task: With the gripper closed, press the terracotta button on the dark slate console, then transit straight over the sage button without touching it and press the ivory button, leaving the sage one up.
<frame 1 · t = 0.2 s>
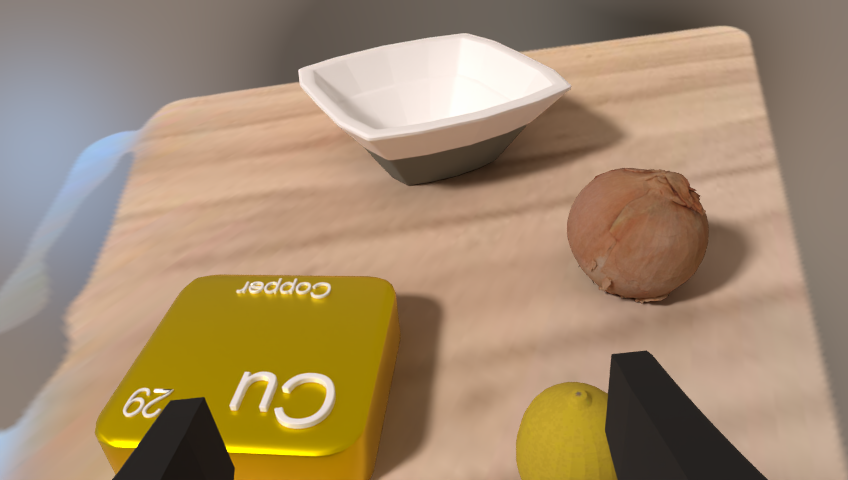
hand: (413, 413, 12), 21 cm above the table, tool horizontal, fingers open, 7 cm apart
onion: (628, 283, 49), on the table
element tile: (273, 399, 42), on the table
bowl: (431, 156, 69), on the table
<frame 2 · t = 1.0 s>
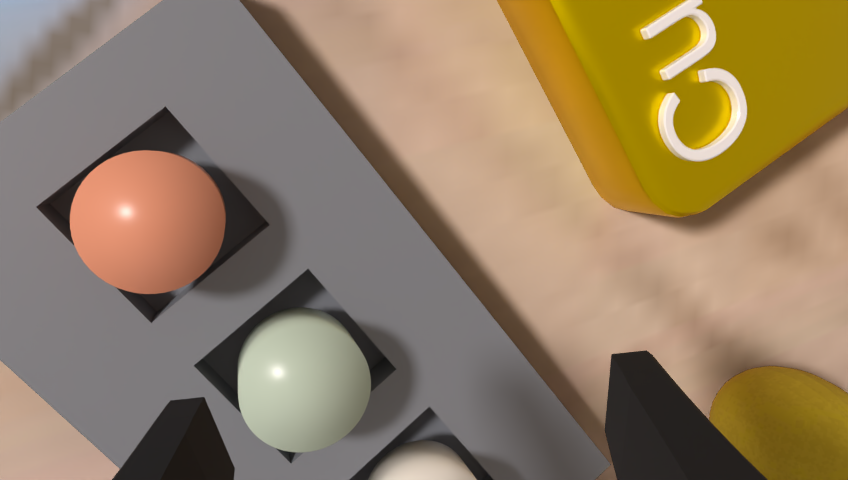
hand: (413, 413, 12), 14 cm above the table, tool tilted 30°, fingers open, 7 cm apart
lemon: (719, 400, 32), on the table
button terracotta: (154, 219, 21), point 4 cm above the table, slide at 0.0 cm
console: (293, 348, 26), on the table
button sage: (302, 376, 22), point 4 cm above the table, slide at 0.0 cm
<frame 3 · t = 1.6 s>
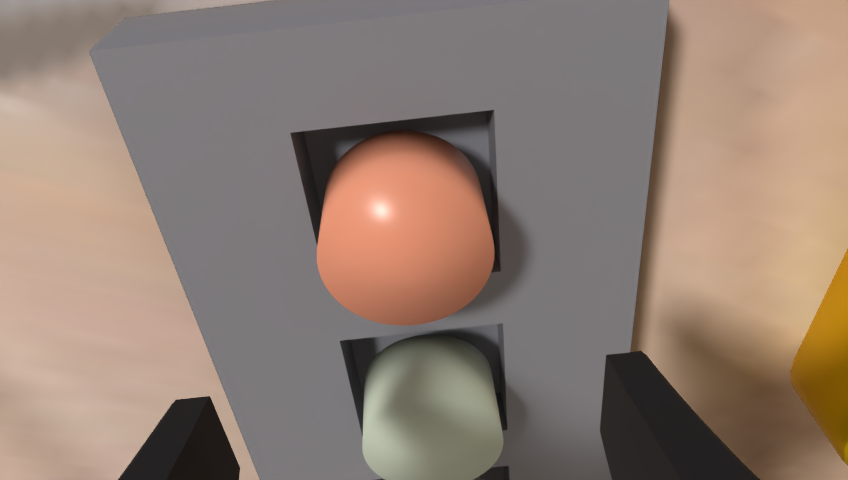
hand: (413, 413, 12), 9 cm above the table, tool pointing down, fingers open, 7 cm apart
button terracotta: (404, 228, 17), point 4 cm above the table, slide at 0.0 cm
console: (425, 335, 24), on the table
button sage: (430, 412, 21), point 4 cm above the table, slide at 0.0 cm
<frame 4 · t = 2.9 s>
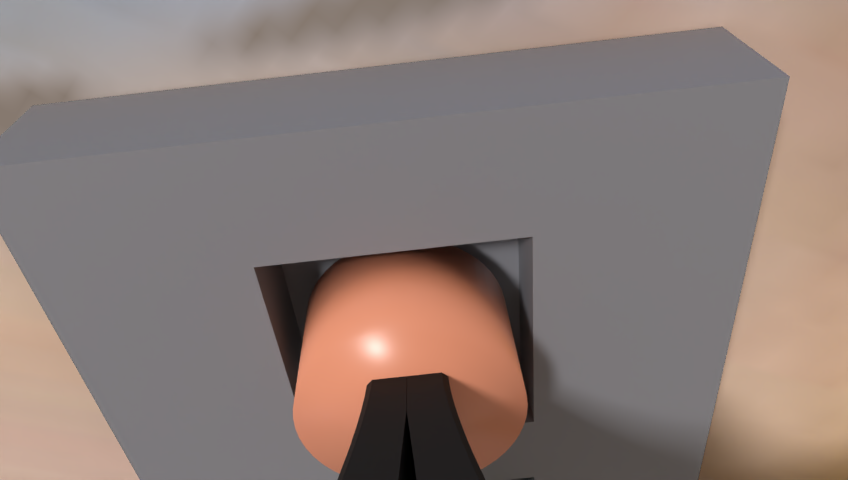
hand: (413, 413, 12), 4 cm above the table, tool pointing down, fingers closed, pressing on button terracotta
button terracotta: (408, 364, 13), point 3 cm above the table, slide at 0.7 cm, touching gripper
console: (432, 463, 19), on the table
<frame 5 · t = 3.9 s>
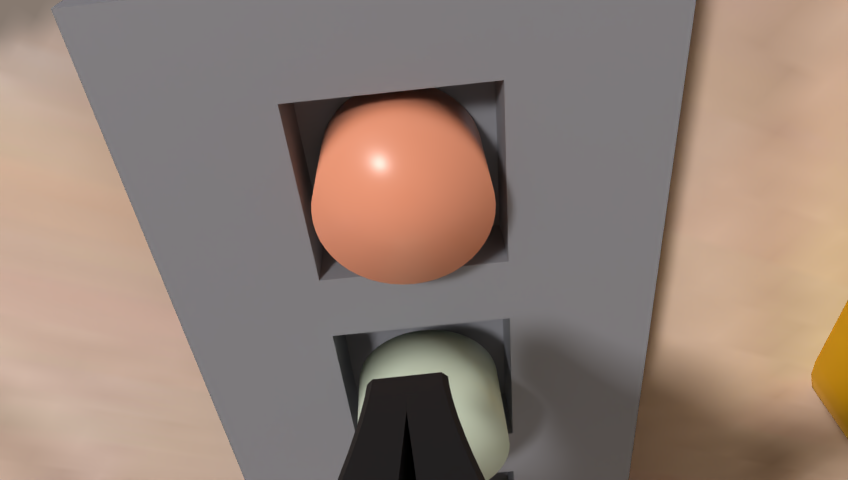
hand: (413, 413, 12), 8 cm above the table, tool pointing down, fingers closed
button terracotta: (402, 184, 16), point 2 cm above the table, slide at 1.3 cm
console: (425, 331, 22), on the table
button sage: (430, 414, 19), point 3 cm above the table, slide at 0.0 cm
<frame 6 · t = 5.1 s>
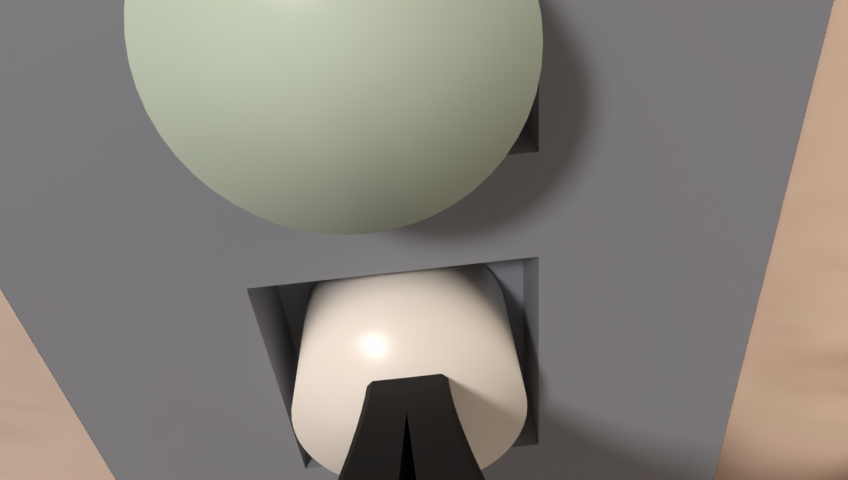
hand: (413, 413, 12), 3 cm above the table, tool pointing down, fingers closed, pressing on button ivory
button ivory: (408, 364, 13), point 2 cm above the table, slide at 1.3 cm, touching gripper
button sage: (344, 26, 8), point 3 cm above the table, slide at 0.0 cm
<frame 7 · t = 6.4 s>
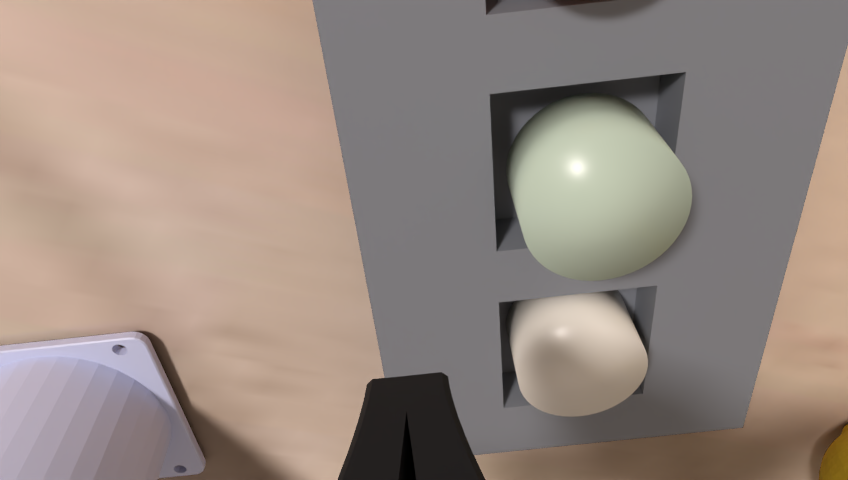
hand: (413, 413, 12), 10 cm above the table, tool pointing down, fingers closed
lemon: (846, 421, 29), on the table
button ivory: (573, 345, 23), point 2 cm above the table, slide at 1.3 cm
console: (563, 129, 20), on the table
button sage: (592, 187, 17), point 3 cm above the table, slide at 0.0 cm
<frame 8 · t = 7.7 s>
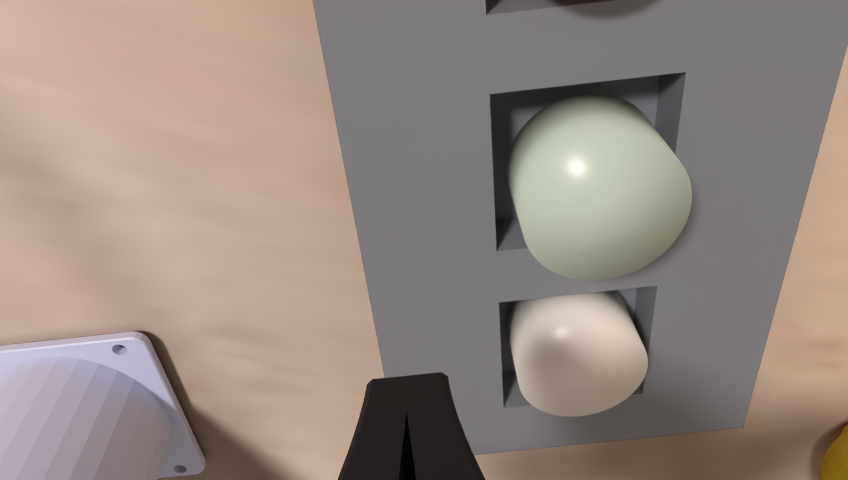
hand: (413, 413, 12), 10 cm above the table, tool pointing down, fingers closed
lemon: (846, 421, 29), on the table
button ivory: (573, 345, 23), point 2 cm above the table, slide at 1.3 cm
console: (563, 129, 20), on the table
button sage: (592, 187, 17), point 3 cm above the table, slide at 0.0 cm
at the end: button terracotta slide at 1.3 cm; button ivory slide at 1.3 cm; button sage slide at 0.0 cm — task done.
